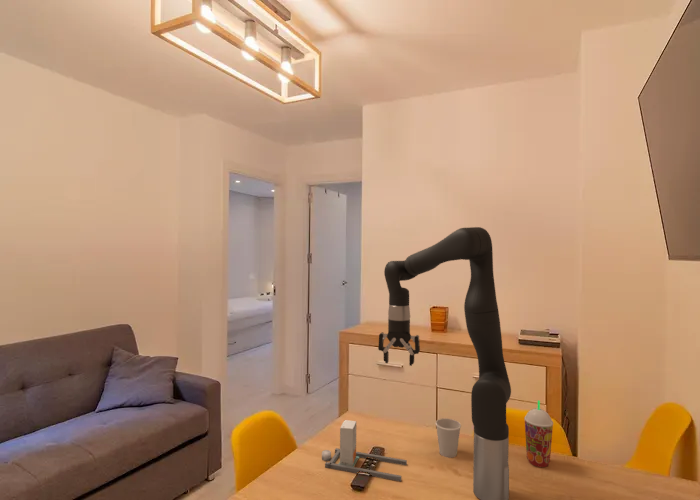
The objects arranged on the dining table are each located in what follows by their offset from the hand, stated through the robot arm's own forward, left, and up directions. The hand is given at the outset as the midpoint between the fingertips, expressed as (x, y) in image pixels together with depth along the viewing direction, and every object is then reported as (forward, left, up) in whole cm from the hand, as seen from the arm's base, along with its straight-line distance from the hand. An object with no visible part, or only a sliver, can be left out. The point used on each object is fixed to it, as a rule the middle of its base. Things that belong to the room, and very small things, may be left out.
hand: (398, 363), depth 140 cm
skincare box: (+13, +17, -28) cm, 35 cm away
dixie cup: (-17, +1, -28) cm, 33 cm away
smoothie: (-45, -2, -28) cm, 53 cm away
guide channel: (+8, +17, -28) cm, 34 cm away
